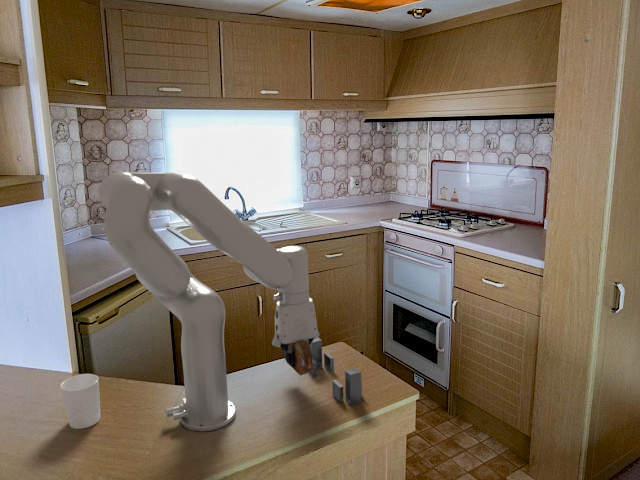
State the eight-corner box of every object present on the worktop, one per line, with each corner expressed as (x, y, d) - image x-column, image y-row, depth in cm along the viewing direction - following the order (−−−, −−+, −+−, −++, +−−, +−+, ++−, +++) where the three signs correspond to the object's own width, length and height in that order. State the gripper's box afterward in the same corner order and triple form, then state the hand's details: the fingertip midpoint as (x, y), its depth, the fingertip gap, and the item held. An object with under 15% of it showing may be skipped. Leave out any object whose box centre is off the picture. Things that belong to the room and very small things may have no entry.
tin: (281, 357, 138) (278, 328, 136) (292, 354, 140) (289, 325, 137) (304, 381, 125) (301, 350, 123) (316, 377, 126) (313, 346, 124)
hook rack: (344, 407, 123) (344, 376, 121) (303, 367, 143) (302, 340, 142) (366, 400, 126) (366, 370, 124) (323, 362, 146) (323, 335, 144)
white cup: (103, 408, 125) (98, 371, 122) (102, 426, 117) (97, 386, 115) (67, 416, 122) (62, 377, 120) (64, 434, 115) (58, 393, 112)
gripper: (268, 306, 121) (273, 377, 125) (329, 294, 128) (332, 362, 132) (258, 297, 128) (262, 365, 132) (316, 286, 134) (319, 351, 139)
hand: (297, 363), depth 132 cm, fingers closed on tin, 2 cm apart
